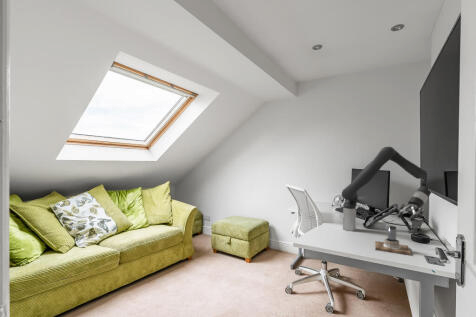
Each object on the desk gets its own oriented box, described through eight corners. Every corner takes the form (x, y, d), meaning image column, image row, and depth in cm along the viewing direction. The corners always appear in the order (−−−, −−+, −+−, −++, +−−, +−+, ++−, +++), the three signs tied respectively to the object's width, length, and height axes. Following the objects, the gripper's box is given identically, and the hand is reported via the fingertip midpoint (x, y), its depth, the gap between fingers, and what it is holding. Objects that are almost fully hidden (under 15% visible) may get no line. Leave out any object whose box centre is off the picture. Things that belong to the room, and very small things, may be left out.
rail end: (387, 246, 153) (387, 227, 153) (387, 244, 158) (387, 225, 158) (396, 247, 151) (396, 228, 151) (396, 245, 155) (396, 226, 155)
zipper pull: (423, 220, 202) (422, 226, 182) (423, 228, 202) (422, 235, 182) (410, 218, 207) (408, 224, 188) (410, 226, 207) (408, 233, 188)
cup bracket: (375, 249, 152) (375, 241, 152) (375, 243, 165) (375, 235, 165) (410, 255, 144) (410, 245, 144) (407, 248, 156) (407, 239, 156)
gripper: (404, 194, 166) (391, 212, 163) (426, 197, 153) (411, 217, 150) (410, 202, 168) (397, 220, 165) (432, 205, 154) (418, 225, 151)
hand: (404, 218), depth 157 cm, fingers open, 8 cm apart
